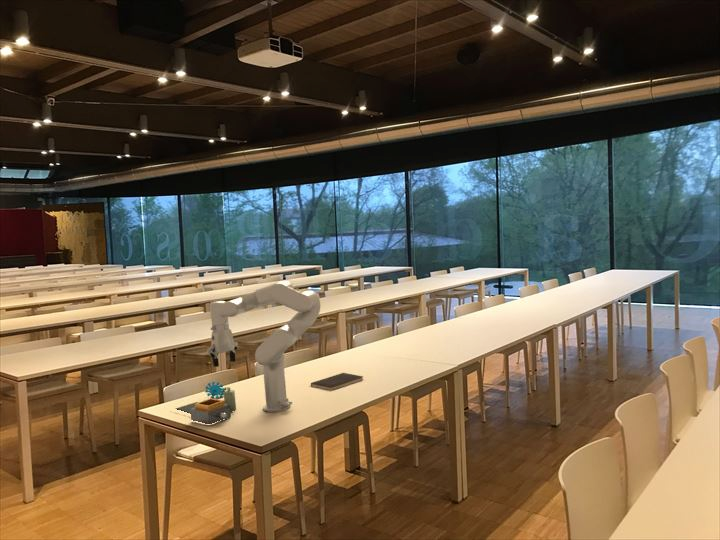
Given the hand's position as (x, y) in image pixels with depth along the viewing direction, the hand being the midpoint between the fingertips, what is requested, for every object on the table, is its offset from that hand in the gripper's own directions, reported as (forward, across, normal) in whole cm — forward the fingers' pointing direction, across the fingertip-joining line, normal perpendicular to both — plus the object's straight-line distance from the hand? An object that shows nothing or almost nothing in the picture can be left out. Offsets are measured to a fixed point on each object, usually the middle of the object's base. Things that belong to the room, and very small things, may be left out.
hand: (224, 363), depth 268 cm
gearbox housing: (+21, -15, -8) cm, 27 cm away
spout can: (+21, -2, -3) cm, 22 cm away
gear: (+21, +9, +22) cm, 32 cm away
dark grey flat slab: (+22, -10, +14) cm, 27 cm away
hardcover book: (+23, +56, -19) cm, 63 cm away
